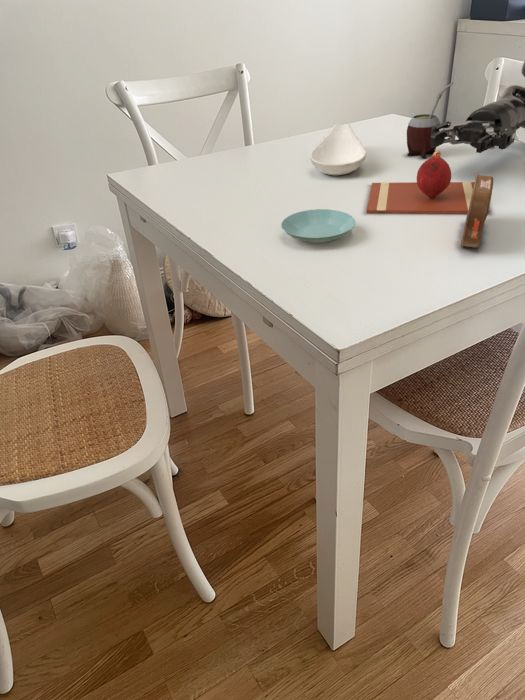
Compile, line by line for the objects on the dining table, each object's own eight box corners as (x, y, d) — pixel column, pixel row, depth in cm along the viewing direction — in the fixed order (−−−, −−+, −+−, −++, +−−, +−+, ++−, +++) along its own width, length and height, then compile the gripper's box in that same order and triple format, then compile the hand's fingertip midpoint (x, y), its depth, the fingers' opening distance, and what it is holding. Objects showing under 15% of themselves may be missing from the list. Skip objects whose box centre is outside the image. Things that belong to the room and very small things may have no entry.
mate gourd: (402, 151, 124) (407, 79, 115) (438, 149, 123) (445, 76, 114) (408, 160, 117) (414, 85, 109) (445, 158, 117) (454, 82, 108)
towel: (480, 185, 101) (480, 181, 101) (488, 214, 89) (489, 210, 89) (372, 185, 106) (372, 182, 106) (366, 213, 94) (366, 210, 94)
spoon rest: (365, 180, 109) (366, 143, 105) (307, 181, 111) (306, 145, 107) (366, 148, 128) (367, 116, 124) (317, 150, 130) (316, 119, 126)
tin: (466, 218, 89) (473, 166, 84) (486, 219, 88) (495, 166, 83) (458, 256, 77) (466, 198, 73) (481, 258, 76) (491, 200, 72)
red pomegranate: (442, 205, 93) (448, 157, 88) (410, 201, 95) (413, 155, 91) (452, 194, 97) (458, 148, 92) (421, 191, 99) (425, 146, 95)
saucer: (369, 231, 87) (370, 218, 86) (322, 257, 81) (321, 242, 80) (315, 216, 95) (314, 204, 93) (267, 239, 88) (266, 225, 87)
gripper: (459, 101, 108) (420, 119, 98) (533, 105, 99) (498, 125, 90) (454, 140, 112) (417, 161, 102) (525, 147, 104) (491, 170, 94)
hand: (455, 144), depth 96 cm, fingers open, 8 cm apart
